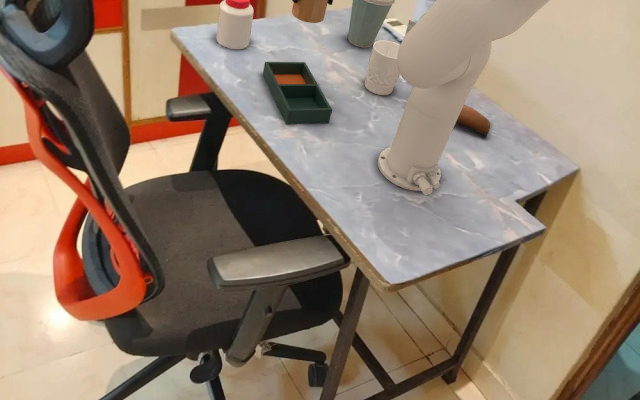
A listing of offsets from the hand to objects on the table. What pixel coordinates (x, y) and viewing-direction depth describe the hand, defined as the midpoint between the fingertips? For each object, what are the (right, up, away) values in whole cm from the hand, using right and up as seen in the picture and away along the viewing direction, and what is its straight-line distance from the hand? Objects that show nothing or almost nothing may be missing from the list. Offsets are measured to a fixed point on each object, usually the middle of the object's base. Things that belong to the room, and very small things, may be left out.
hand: (311, 0), depth 119 cm
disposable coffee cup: (+12, 0, +34) cm, 36 cm away
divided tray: (-4, -18, +8) cm, 20 cm away
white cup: (+15, -14, +19) cm, 28 cm away
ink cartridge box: (+27, -5, +32) cm, 42 cm away
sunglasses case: (+31, -21, +16) cm, 41 cm away
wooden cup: (-1, -2, +2) cm, 3 cm away
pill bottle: (-19, -3, +21) cm, 28 cm away
